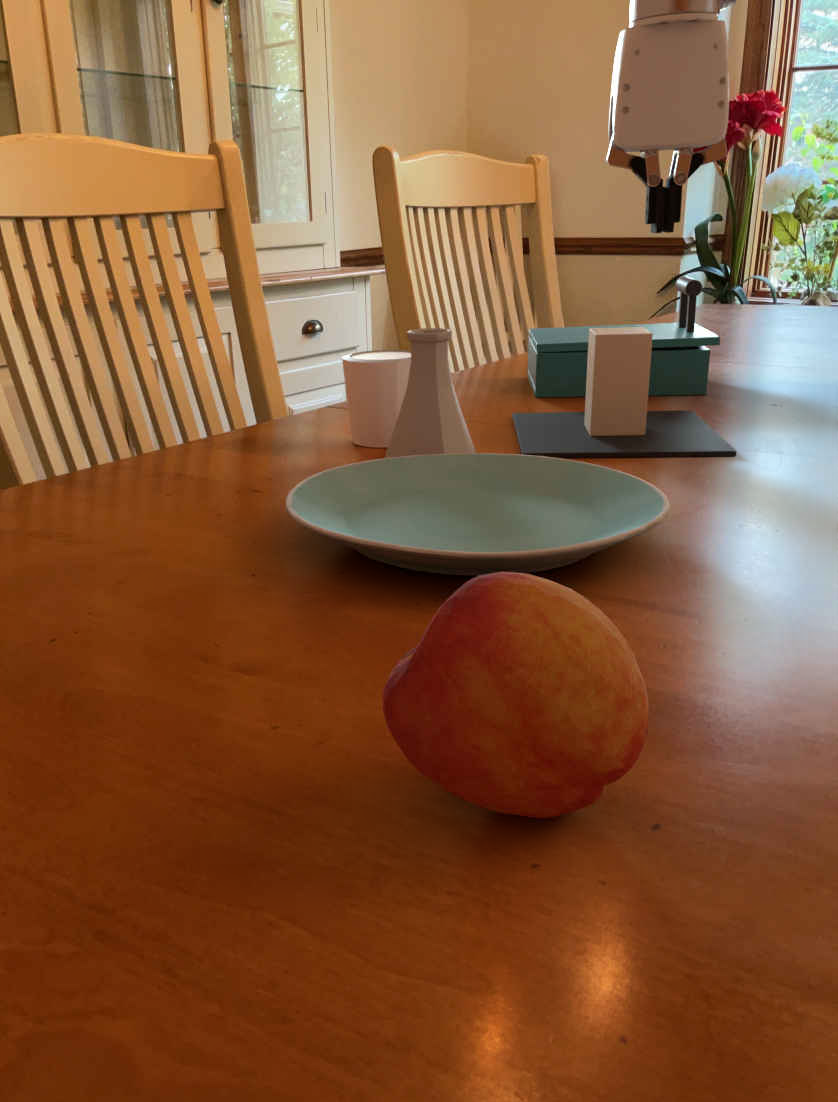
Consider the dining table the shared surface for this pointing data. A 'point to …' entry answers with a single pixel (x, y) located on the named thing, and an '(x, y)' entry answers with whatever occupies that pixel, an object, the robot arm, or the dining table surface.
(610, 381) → the beige rectangular block
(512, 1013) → the dining table surface
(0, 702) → the dining table surface
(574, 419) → the mat
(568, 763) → the fruit
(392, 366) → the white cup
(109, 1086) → the dining table surface
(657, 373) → the box
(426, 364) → the flask
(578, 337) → the lunchbox lid
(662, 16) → the robot arm
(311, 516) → the plate
